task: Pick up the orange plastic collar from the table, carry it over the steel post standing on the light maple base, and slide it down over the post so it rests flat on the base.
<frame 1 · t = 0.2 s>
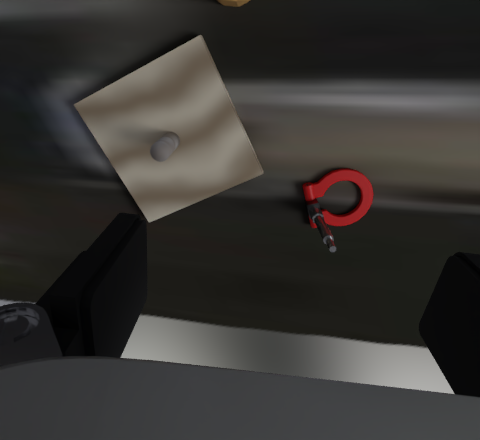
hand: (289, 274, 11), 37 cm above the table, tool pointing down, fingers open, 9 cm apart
post base: (173, 137, 46), on the table
tow hook: (337, 196, 49), on the table
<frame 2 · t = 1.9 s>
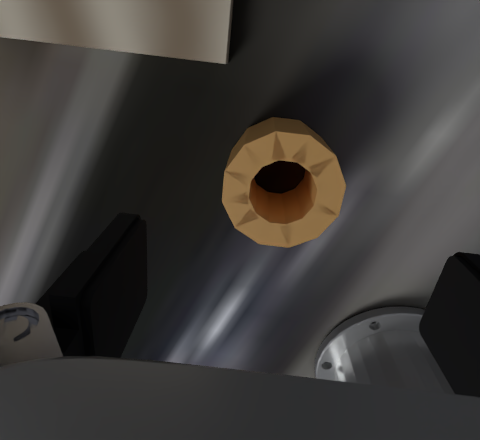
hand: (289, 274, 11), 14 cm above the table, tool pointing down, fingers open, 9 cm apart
collar: (278, 167, 23), on the table
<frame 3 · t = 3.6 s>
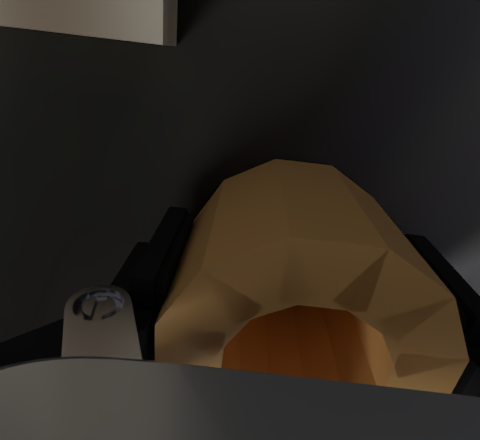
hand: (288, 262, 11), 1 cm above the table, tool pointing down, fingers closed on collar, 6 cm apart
collar: (286, 252, 12), on the table, touching gripper
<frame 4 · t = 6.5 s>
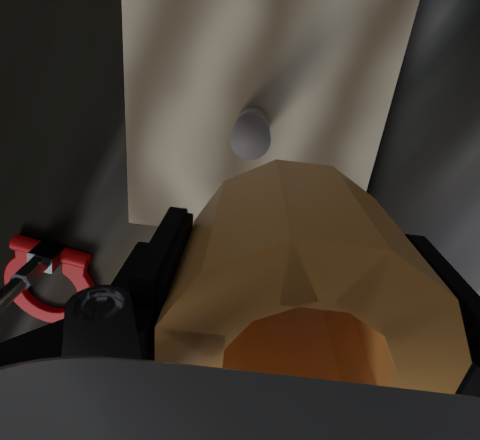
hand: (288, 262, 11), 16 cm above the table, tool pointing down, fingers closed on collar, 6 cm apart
post base: (253, 119, 25), on the table
collar: (286, 253, 12), point 16 cm above the table, touching gripper
tow hook: (55, 279, 33), on the table
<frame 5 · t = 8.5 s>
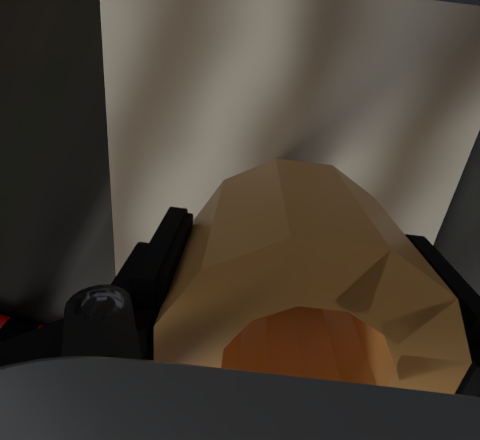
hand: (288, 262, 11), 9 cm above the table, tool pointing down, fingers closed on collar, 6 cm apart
post base: (277, 179, 20), on the table
collar: (286, 253, 12), point 8 cm above the table, touching gripper
tow hook: (30, 356, 27), on the table
when the fingers open (4 cm above the table, at t = 10.0 s): collar drops 2 cm, resting on post base.
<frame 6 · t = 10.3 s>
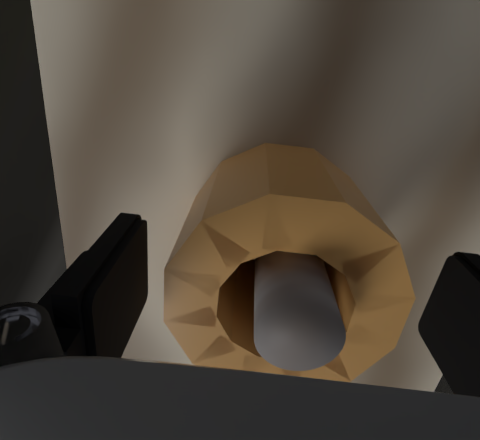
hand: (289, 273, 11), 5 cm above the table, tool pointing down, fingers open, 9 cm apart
post base: (280, 210, 15), on the table
collar: (275, 226, 14), point 1 cm above the table, touching post base
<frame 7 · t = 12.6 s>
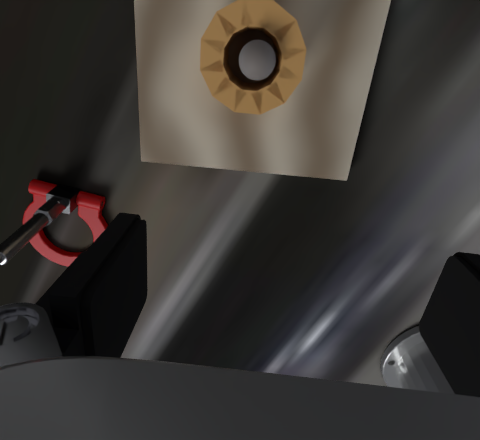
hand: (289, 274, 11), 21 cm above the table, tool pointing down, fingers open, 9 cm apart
post base: (255, 56, 27), on the table
collar: (252, 57, 26), point 1 cm above the table, touching post base
tow hook: (71, 224, 35), on the table
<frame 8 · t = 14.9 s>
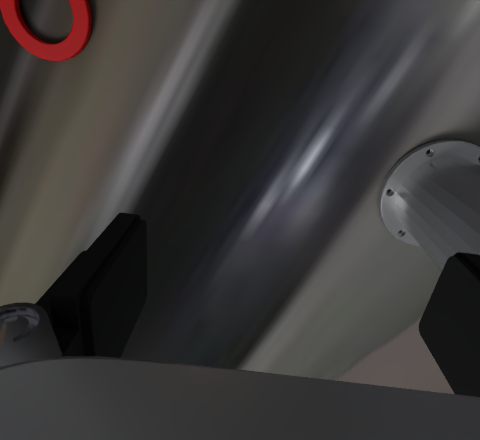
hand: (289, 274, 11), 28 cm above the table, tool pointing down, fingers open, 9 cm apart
tow hook: (50, 7, 33), on the table
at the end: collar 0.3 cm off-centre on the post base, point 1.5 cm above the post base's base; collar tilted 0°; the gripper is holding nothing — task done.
